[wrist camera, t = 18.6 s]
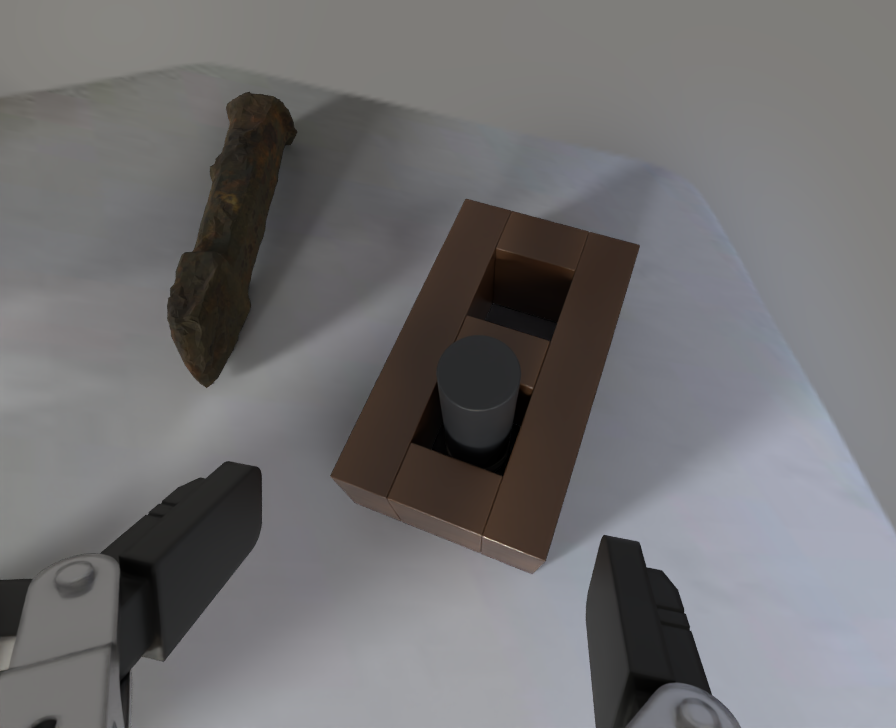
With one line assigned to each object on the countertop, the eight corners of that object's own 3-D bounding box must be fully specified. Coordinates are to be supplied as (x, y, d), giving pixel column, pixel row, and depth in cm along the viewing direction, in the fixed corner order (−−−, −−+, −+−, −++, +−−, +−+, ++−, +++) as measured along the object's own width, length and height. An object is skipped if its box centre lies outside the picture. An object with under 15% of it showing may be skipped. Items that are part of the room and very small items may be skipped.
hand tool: (246, 139, 38) (217, 78, 34) (302, 140, 38) (280, 78, 33) (163, 389, 30) (112, 349, 25) (234, 392, 29) (194, 353, 25)
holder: (354, 502, 26) (329, 476, 22) (466, 257, 32) (465, 198, 28) (532, 574, 25) (545, 561, 20) (616, 301, 31) (640, 244, 26)
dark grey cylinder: (437, 466, 27) (421, 395, 19) (459, 411, 28) (453, 322, 20) (496, 488, 26) (506, 424, 18) (516, 430, 28) (534, 348, 20)
